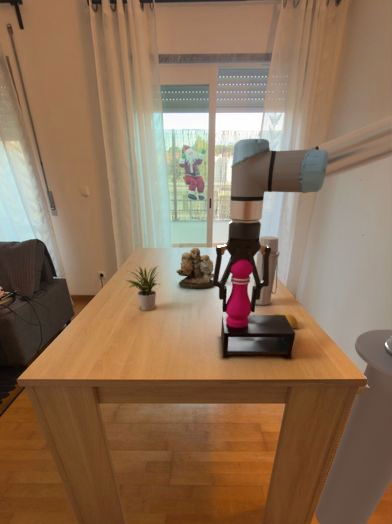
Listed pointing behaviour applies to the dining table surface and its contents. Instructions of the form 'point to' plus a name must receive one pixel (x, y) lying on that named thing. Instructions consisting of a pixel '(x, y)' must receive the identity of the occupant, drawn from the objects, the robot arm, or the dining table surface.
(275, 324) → the rack
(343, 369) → the dining table surface
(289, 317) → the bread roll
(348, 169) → the robot arm
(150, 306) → the house plant
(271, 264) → the water bottle
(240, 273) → the pepper mill
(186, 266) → the owl figurine
